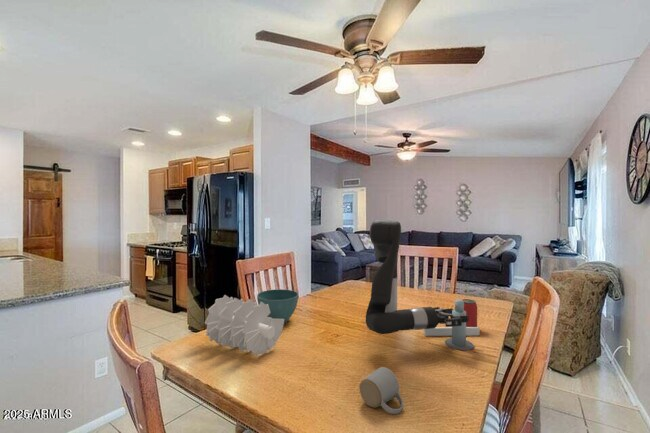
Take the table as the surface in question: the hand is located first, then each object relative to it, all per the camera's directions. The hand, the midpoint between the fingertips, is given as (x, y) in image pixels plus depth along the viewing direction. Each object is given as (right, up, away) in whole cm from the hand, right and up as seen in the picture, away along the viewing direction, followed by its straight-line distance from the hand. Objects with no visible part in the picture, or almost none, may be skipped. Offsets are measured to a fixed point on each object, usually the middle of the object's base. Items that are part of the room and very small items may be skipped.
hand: (460, 314), depth 120 cm
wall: (0, -11, +9) cm, 14 cm away
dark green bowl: (-71, -11, +25) cm, 76 cm away
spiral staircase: (-79, -11, -3) cm, 80 cm away
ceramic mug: (-35, -12, -37) cm, 52 cm away
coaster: (0, -11, 0) cm, 11 cm away
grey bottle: (-1, -11, 0) cm, 11 cm away
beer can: (+10, -11, +15) cm, 21 cm away
